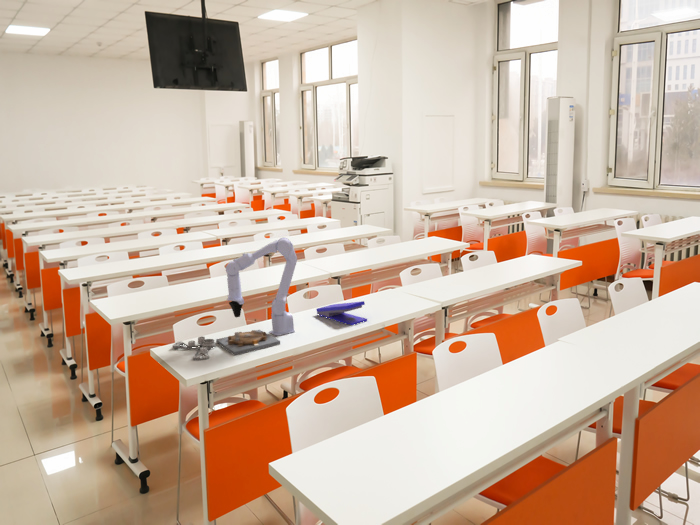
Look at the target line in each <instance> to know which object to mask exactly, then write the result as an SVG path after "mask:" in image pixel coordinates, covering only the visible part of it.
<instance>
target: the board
mask: <svg viewBox="0 0 700 525" xmlns="http://www.w3.org/2000/svg"><path fill="white" fill-rule="evenodd" d="M256 332H264V331H263V330H261V329H256ZM234 335H235V334H234ZM234 335H232V336H234ZM266 336H267V340H262V341H260V342H258V344H249V345H243V346H239V345H236V344H231V345H229V344H228V337H229V336H225V337H221V338H216V339H215V343H216V342H218V343H219V344H220V345H219V344H218V343H217V344H218V345H219V346H221V347H222V346H223V347H224V349H225V350H226V349H227V350H226V351H228V352H229V353H231V354H232V355H233V356H238V355H242V354H245V353H250V352H255V351H258V350H261V349H266V348H270V347H274V346H279V345H281V340H279V339H278V338H275V337H274V336H272V335H270V334H268V333H267V332H266ZM223 347H222V348H223ZM254 350H255V351H254Z"/></svg>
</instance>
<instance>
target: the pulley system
mask: <svg viewBox="0 0 700 525" xmlns="http://www.w3.org/2000/svg"><path fill="white" fill-rule="evenodd" d="M183 344H184V345H183ZM216 344H217V343H216V339H213V338H207V339H206V337H205V336H198V338H197V345H196V341H195V340H188V341H187V344H186V343H185V342H183V341H181V340H180V341H177V342H175V343H173V344H172V349H177V350H178V349H181V350H191V349H199V350H200V351H199V350H196V353H194V355H193V356H192V360H193V361H206V360H209V359H210V355H208V351H210V350H212V349H211V348H213V347H215V346H216ZM180 345H182V346H181V347H180ZM185 345H186V346H187V347H186V346H185ZM198 346H202V347H198ZM192 347H198V348H192ZM216 347H217V346H216ZM216 347H215V348H216ZM209 349H210V350H209ZM213 349H214V348H213ZM207 350H208V351H207ZM198 351H199V352H198ZM196 354H197V355H196ZM198 354H199V355H198ZM201 354H202V355H201ZM203 355H204V356H203Z"/></svg>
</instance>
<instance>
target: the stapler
mask: <svg viewBox="0 0 700 525" xmlns="http://www.w3.org/2000/svg"><path fill="white" fill-rule="evenodd" d="M363 306H365V300H363V301H354V302H352V301H351V302H344V303H335V304H330V305H327V306H326V305H324V306H322V307H319V308H316V315H317V314H319V315H322V316H324V317H327V318H326V319H328V318H330V319H329V320H331V319H334V320H336V321H335V322H338V321H340V322H339V323H341V322H343V323H342V324H344V323H346V324H345V325H348V324H350V325H349V326H351V325H352V326H355V325H358V324H357V323H359V324H361V323H360V322H362V323H364V322H363V321H365V322H368V318H366V317H365V318H364V317H362V316H361V317H360V316H357V315H354V314H350V313H346V312H351V311H355V310H358V309H361V308H363ZM324 317H323V318H324ZM334 320H333V321H334ZM354 324H355V325H354Z"/></svg>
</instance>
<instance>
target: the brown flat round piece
mask: <svg viewBox="0 0 700 525" xmlns="http://www.w3.org/2000/svg"><path fill="white" fill-rule="evenodd" d="M256 330H257V329H256ZM256 330H255V329H254V330H251V331H244V332H242V331H236V332H234V336H233V335H229V336H227V337H228V344H229V345H231V344H236V345H239V346H243V345H249V344H258V342H260V341H262V340H267V336H266V333H267V332H265V331H263V332H256Z"/></svg>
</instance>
